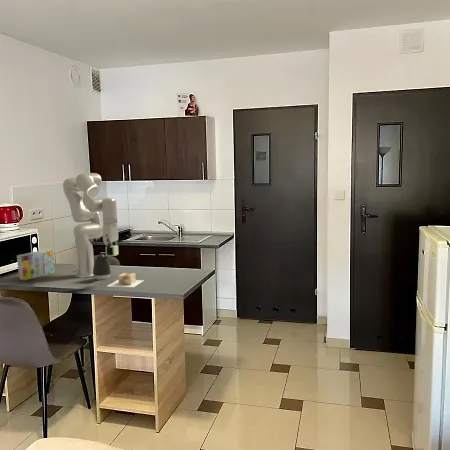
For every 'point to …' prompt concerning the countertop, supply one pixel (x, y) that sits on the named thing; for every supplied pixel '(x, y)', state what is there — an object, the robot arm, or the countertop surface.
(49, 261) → the snack box
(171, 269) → the countertop surface
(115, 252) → the sage cube
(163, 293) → the countertop surface
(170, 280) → the countertop surface
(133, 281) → the oak block
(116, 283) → the building board
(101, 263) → the pump dispenser
